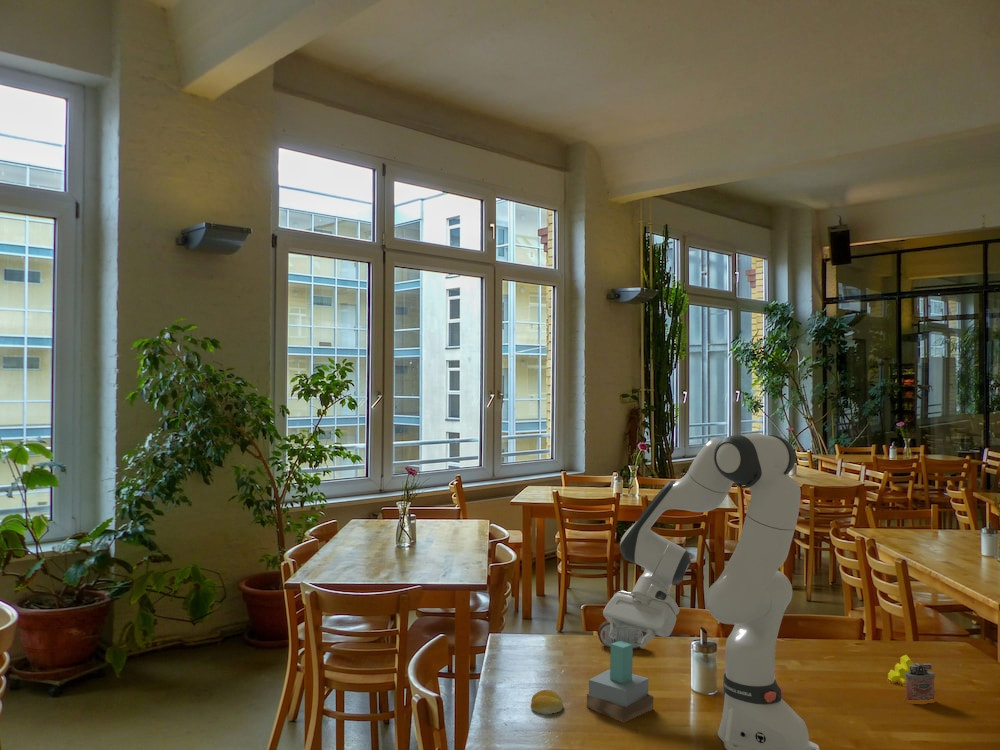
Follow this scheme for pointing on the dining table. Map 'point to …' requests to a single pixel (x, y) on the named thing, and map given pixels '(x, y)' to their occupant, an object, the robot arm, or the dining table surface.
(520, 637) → the dining table surface
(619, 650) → the pillar block
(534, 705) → the bread roll
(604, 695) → the tower top
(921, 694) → the lighter
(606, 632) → the tin
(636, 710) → the tower base
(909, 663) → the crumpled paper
